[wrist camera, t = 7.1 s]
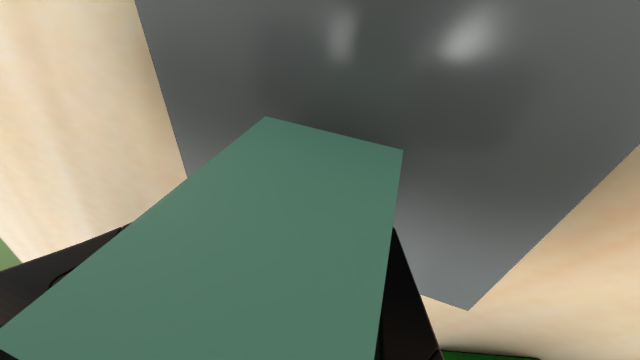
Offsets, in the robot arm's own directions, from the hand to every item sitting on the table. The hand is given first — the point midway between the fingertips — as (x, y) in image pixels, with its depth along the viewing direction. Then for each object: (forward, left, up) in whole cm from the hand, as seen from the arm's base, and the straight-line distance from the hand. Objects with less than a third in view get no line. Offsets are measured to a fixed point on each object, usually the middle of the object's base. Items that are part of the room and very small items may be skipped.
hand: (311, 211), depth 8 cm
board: (0, 0, -4) cm, 4 cm away
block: (0, 0, -1) cm, 1 cm away
